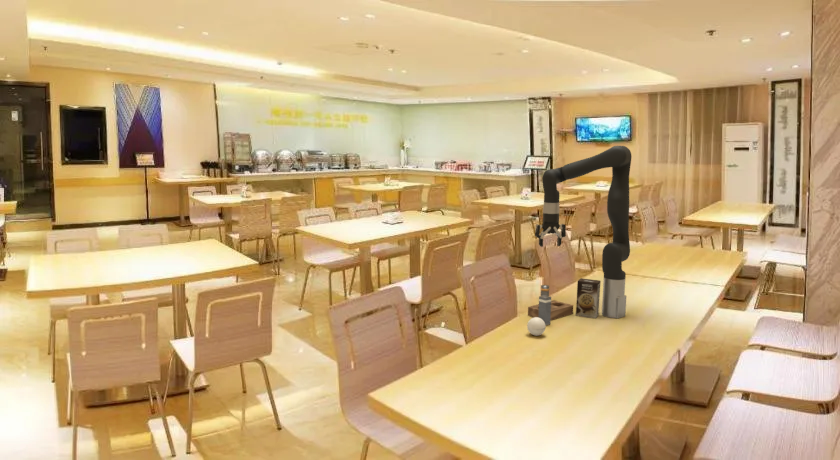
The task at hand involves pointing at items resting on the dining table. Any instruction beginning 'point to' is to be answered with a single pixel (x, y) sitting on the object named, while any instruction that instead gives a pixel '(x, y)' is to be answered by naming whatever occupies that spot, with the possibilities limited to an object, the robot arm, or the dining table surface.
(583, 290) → the coffee box
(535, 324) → the seamed sphere
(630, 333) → the dining table surface
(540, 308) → the square bit
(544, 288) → the cylinder
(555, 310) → the block
